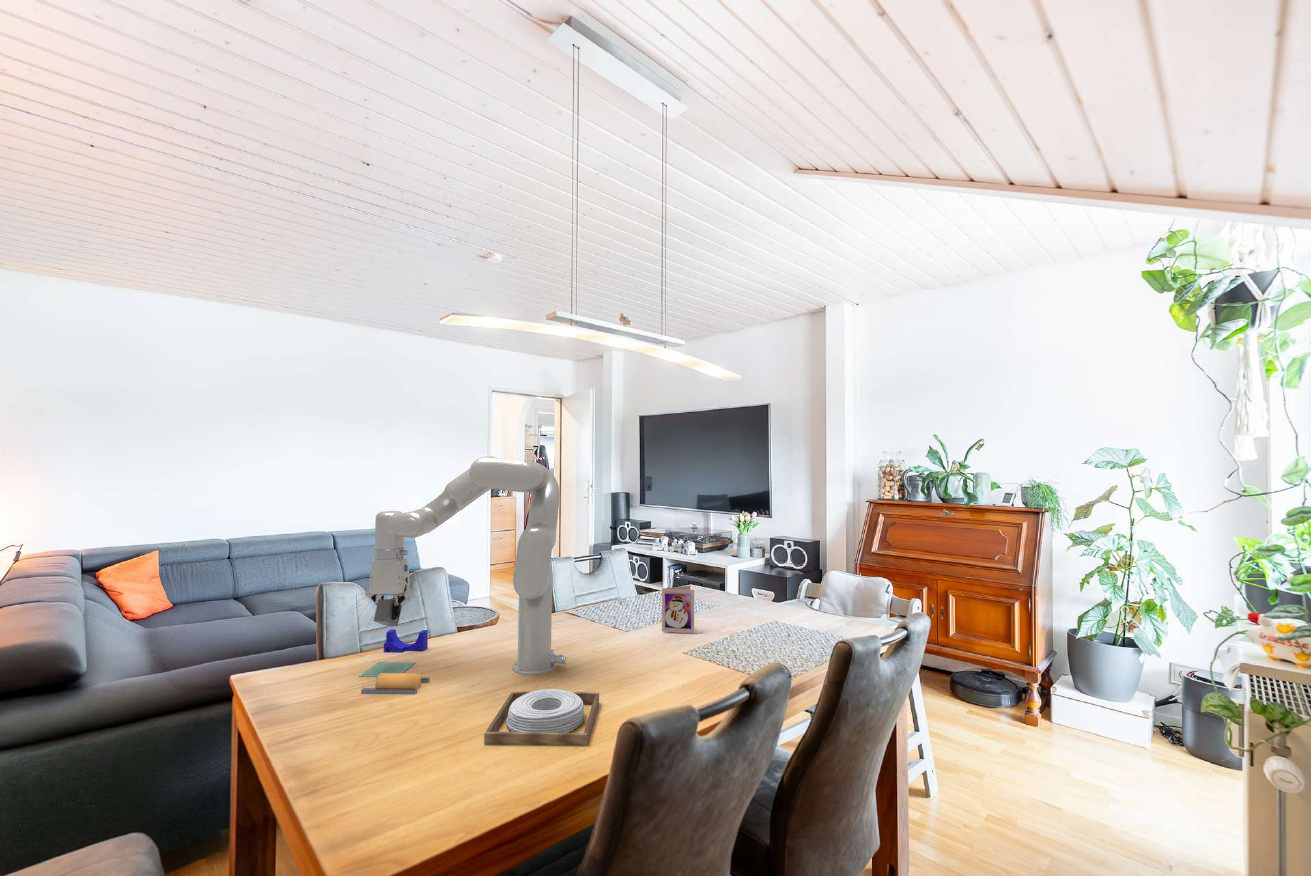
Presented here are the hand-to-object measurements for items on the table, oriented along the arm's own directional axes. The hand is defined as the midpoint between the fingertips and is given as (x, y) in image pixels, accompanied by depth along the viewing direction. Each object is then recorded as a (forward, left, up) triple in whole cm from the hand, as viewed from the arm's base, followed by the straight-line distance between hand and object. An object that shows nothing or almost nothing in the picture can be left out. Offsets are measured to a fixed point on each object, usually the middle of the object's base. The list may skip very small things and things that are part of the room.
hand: (388, 617), depth 166 cm
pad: (0, 0, -15) cm, 15 cm away
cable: (-52, +32, -16) cm, 63 cm away
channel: (-8, +13, -15) cm, 21 cm away
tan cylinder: (-9, +13, -15) cm, 22 cm away
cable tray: (-52, +33, -15) cm, 64 cm away
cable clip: (+3, -17, -15) cm, 23 cm away
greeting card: (-84, -41, -15) cm, 95 cm away
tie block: (0, +2, -1) cm, 2 cm away
